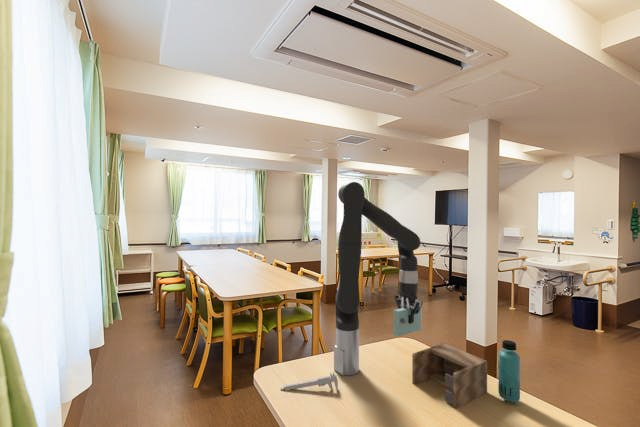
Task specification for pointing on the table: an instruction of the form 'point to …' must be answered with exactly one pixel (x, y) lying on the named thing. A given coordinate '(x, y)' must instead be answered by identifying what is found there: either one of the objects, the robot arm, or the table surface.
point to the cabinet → (451, 372)
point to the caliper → (315, 383)
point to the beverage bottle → (509, 372)
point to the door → (406, 322)
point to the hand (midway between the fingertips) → (407, 322)
